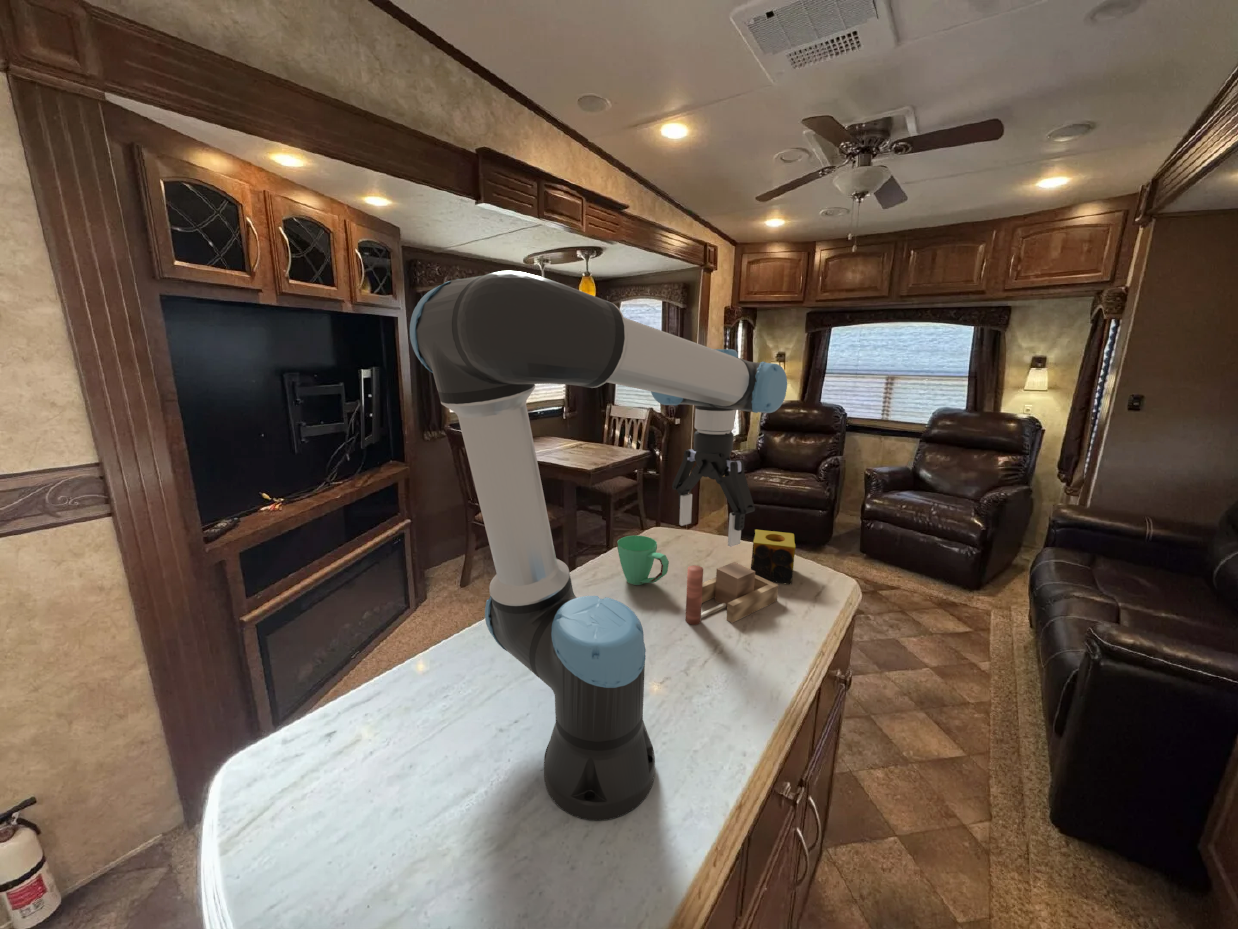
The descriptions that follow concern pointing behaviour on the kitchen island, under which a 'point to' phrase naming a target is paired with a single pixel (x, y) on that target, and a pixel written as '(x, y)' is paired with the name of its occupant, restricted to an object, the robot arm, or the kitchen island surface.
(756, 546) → the toy block
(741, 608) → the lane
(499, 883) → the kitchen island surface
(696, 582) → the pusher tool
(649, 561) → the mug
